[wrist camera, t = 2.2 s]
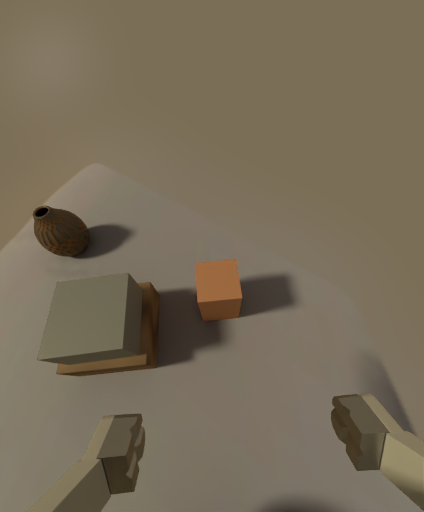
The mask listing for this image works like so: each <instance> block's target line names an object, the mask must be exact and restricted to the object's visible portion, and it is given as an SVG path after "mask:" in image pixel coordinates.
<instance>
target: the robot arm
mask: <svg viewBox="0 0 424 512" xmlns="http://www.w3.org/2000/svg"><path fill="white" fill-rule="evenodd" d="M332 404H333V406H334V407H335V408H334V409H333V410H332V411H331V421H332V425H333V428H334V431H335V433H336V435H337V437H338V438H339V439H340V440H341V441H342V442H343V443H345V444H346V453H347V454H348V456H349V458H350V460H351V462H352V463H353V465H354V467H355V469H356V470H357V471H363V470H380V472H381V473H382V474H383V475H385V476H386V477H387V478H388V479H389V480H390V481H391V482H392V483H393V484H394V485H396V486H397V487H398V488H399V489H400V490H401V491H402V492H403V493H404V494H406V495H407V496H408V497H409V498H410V499H411V500H412V501H413V502H414V503H415V504H417V505H418V506H419V507H420V508H421V509H422V510H423V511H424V441H423V440H422V439H420V438H418V437H417V436H415V435H414V434H412V433H410V432H409V431H404V430H403V429H402V428H401V427H400V426H399V425H398V424H397V422H396V421H395V420H394V419H393V418H392V417H391V415H390V414H389V413H388V412H387V411H386V410H385V408H384V407H383V406H382V405H381V404H380V403H379V402H378V400H377V399H376V398H375V397H374V396H373V395H372V394H370V393H366V394H352V395H342V396H334V397H333V399H332ZM142 420H143V419H142V415H141V414H124V415H110V416H104V417H103V418H102V419H101V420H100V422H99V425H98V427H97V429H96V431H95V433H94V435H93V438H92V440H91V442H90V444H89V446H88V448H87V451H86V453H85V455H84V457H83V459H82V460H81V461H77V462H76V463H75V464H74V465H73V466H72V467H71V468H70V469H69V470H68V471H67V472H66V473H65V474H64V475H63V476H62V477H61V478H60V479H59V480H58V481H57V482H56V483H55V484H54V485H53V486H52V487H51V488H50V489H49V490H48V491H47V492H46V493H45V494H44V495H43V496H42V497H41V498H40V499H39V500H38V501H37V502H36V503H35V504H34V505H33V506H32V507H31V508H30V509H29V510H28V511H27V512H101V510H102V509H103V507H104V506H105V504H106V503H107V501H108V500H109V498H110V497H111V495H112V494H120V493H128V492H134V490H135V486H136V482H137V478H138V473H139V466H138V462H139V460H140V459H141V458H142V456H143V452H144V446H145V430H144V428H143V427H142V426H141V424H142Z"/></svg>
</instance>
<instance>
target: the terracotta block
mask: <svg viewBox="0 0 424 512" xmlns="http://www.w3.org/2000/svg"><path fill="white" fill-rule="evenodd" d="M195 267H196V284H197V302H198V306H199V309H200V312H201V315H202V319H203V321H212V320H222V319H232V318H239V313H240V308H241V303H242V292H241V286H240V280H239V274H238V268H237V262H236V259H233V260H223V261H213V262H203V263H195Z"/></svg>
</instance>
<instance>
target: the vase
mask: <svg viewBox="0 0 424 512" xmlns="http://www.w3.org/2000/svg"><path fill="white" fill-rule="evenodd" d="M33 217H34V233H35V236H36V238H37V240H38V241H39V243H40V244H41V245H42V246H43V247H44V248H45V249H47V250H48V251H50V252H51V253H54V254H56V255H59V256H73V255H76V254H79V253H80V252H82V251H83V250H84V249H85V248H86V247H87V245H88V243H89V232H88V229H87V227H86V225H85V224H84V222H83V221H82V220H81V219H80V218H79V217H78V216H76V215H75V214H73V213H71V212H69V211H66V210H62V209H54V208H51V207H49V206H41V207H38V208H37V209H36V210H35V211H34V212H33Z"/></svg>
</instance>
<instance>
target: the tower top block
mask: <svg viewBox="0 0 424 512" xmlns="http://www.w3.org/2000/svg"><path fill="white" fill-rule="evenodd" d="M141 313H142V289H141V287H140V286H139V285H138V284H137V283H136V281H135V280H134V279H133V278H132V277H131V275H130V274H129V273H124V274H116V275H109V276H101V277H93V278H85V279H78V280H70V281H62V282H57V284H56V288H55V292H54V296H53V299H52V303H51V307H50V311H49V315H48V319H47V323H46V327H45V331H44V334H43V338H42V342H41V346H40V350H39V354H38V358H37V360H39V361H46V362H52V363H59V364H65V365H73V364H80V363H87V362H95V361H102V360H109V359H117V358H124V357H131V356H139V355H140V337H141Z"/></svg>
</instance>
